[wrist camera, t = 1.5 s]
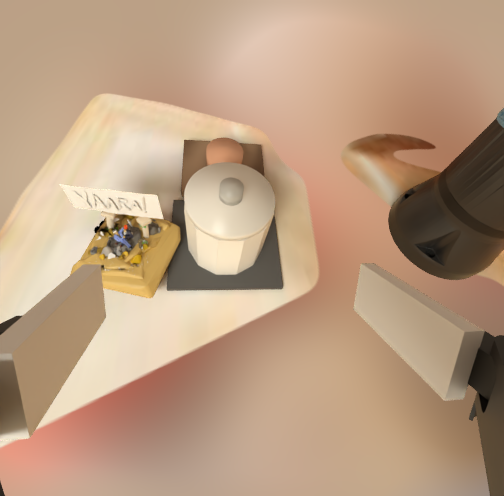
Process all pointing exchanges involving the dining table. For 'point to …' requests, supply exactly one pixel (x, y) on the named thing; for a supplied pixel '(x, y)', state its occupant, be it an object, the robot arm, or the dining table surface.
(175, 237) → the cake
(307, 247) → the dining table surface
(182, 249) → the mat
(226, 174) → the pot with lid
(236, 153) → the egg
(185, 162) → the board
